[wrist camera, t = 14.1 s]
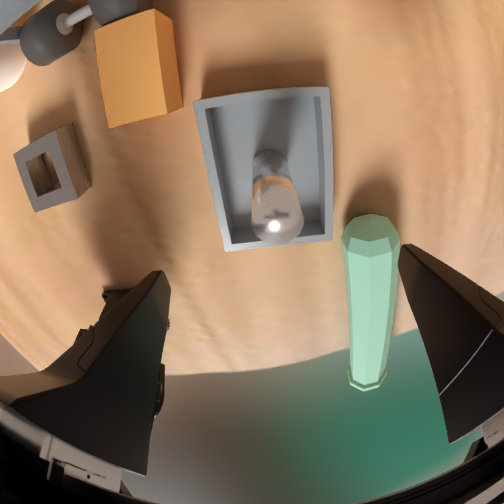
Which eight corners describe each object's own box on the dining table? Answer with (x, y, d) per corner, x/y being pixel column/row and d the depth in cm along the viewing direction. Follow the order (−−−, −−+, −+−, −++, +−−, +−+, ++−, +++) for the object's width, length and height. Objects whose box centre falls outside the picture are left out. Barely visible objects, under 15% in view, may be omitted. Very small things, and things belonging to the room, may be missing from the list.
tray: (325, 223, 22) (332, 240, 20) (227, 233, 23) (225, 251, 21) (319, 85, 16) (328, 87, 14) (200, 99, 16) (193, 101, 14)
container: (366, 255, 17) (361, 399, 30) (420, 220, 18) (394, 375, 31) (318, 222, 22) (339, 370, 35) (370, 196, 22) (371, 349, 36)
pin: (287, 178, 19) (304, 241, 13) (254, 181, 20) (254, 246, 13) (284, 147, 18) (303, 196, 12) (250, 150, 18) (248, 202, 12)
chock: (183, 106, 17) (167, 113, 13) (133, 117, 17) (108, 128, 14) (172, 20, 13) (153, 8, 9) (121, 35, 13) (94, 30, 10)
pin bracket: (91, 186, 20) (78, 198, 18) (48, 200, 20) (34, 212, 18) (72, 122, 16) (55, 129, 14) (29, 145, 17) (13, 154, 15)
